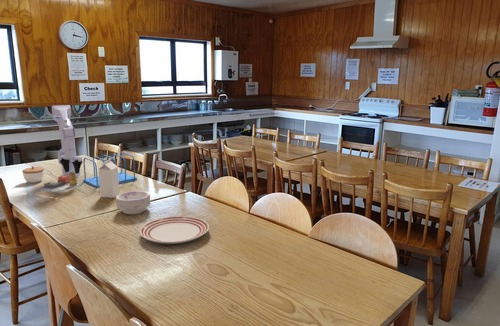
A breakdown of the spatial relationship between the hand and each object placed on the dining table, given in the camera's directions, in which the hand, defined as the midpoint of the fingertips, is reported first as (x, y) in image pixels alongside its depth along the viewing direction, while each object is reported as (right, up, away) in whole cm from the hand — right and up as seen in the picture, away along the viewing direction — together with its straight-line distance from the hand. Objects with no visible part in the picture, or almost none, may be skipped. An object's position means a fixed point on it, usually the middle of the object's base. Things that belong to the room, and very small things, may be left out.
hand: (72, 172), depth 213 cm
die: (-7, -6, +5) cm, 10 cm away
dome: (-10, -7, -1) cm, 12 cm away
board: (-5, -8, -2) cm, 10 cm away
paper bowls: (+46, -17, -35) cm, 60 cm away
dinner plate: (+70, -24, -60) cm, 95 cm away
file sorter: (+17, -6, +12) cm, 22 cm away
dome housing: (-10, -8, -1) cm, 13 cm away
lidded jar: (-26, -6, +8) cm, 28 cm away
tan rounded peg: (0, -7, +2) cm, 7 cm away
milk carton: (+27, -12, -14) cm, 32 cm away
